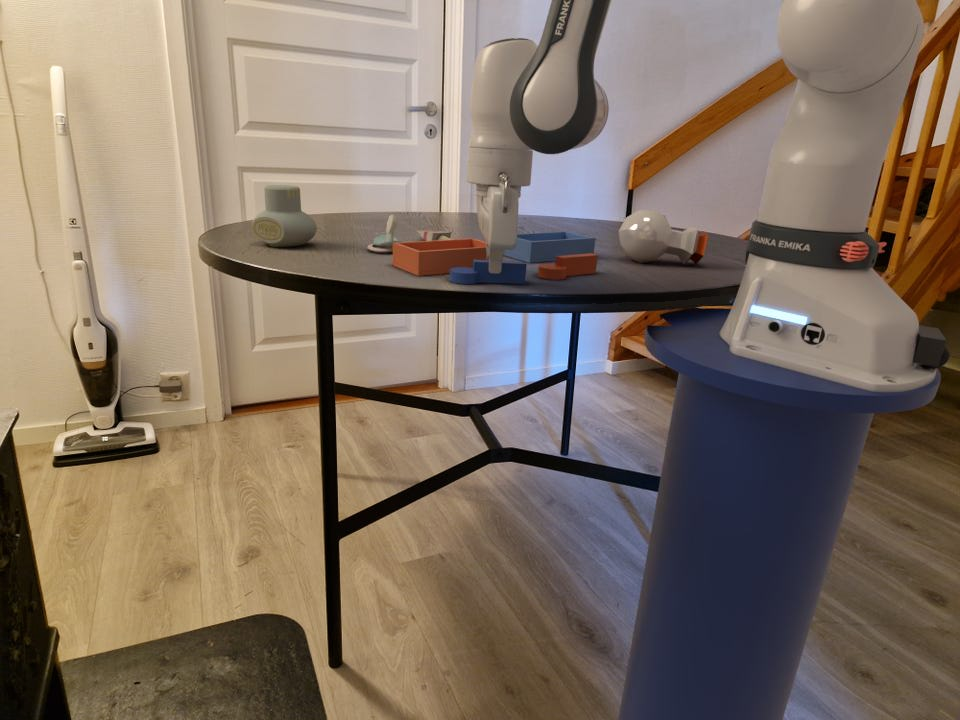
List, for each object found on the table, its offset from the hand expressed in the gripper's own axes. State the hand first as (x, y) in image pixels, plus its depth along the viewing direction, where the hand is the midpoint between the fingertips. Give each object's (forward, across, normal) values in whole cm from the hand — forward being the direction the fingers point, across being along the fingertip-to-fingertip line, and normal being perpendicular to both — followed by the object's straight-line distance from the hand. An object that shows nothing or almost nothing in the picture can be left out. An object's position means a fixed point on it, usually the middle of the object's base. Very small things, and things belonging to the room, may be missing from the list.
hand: (493, 270), depth 89 cm
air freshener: (+2, +24, +35) cm, 42 cm away
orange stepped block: (+2, +7, -12) cm, 14 cm away
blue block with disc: (+2, 0, +1) cm, 2 cm away
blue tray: (+2, +23, -12) cm, 26 cm away
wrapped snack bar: (+2, +28, +7) cm, 29 cm away
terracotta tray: (+2, +9, +6) cm, 12 cm away
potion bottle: (+2, +21, -32) cm, 38 cm away
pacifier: (+2, +22, +17) cm, 28 cm away
